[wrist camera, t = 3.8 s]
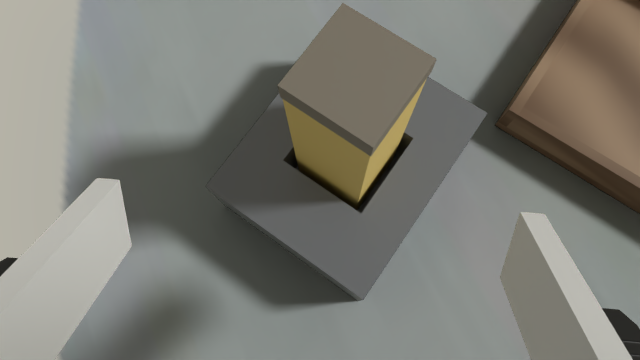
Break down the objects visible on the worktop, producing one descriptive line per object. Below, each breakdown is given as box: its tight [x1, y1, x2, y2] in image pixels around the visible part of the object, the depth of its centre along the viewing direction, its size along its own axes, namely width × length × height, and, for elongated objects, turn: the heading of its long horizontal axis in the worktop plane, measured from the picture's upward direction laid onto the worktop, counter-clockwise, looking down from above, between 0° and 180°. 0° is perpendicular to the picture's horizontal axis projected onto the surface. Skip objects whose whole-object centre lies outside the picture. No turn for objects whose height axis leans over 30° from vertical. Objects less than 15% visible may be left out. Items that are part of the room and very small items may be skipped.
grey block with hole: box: [205, 77, 487, 301], centre depth 28 cm, size 12×10×4 cm
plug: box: [277, 3, 437, 210], centre depth 23 cm, size 4×4×12 cm
